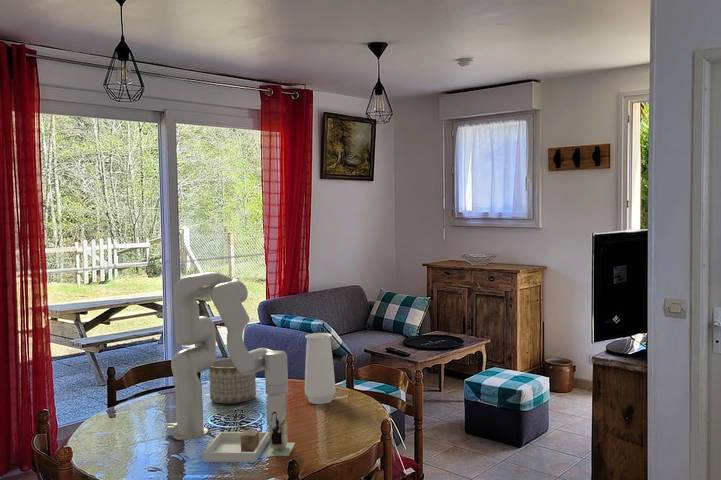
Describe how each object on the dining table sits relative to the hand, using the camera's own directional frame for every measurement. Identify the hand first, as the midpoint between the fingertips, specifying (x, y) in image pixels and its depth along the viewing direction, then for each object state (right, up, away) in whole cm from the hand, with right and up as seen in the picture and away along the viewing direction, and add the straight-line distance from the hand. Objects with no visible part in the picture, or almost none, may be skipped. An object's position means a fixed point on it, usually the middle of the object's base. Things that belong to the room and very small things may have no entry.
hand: (278, 440), depth 221 cm
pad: (0, -4, 0) cm, 4 cm away
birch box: (0, -2, 0) cm, 2 cm away
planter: (-27, -1, +61) cm, 66 cm away
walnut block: (-9, -3, -1) cm, 10 cm away
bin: (-14, -4, 0) cm, 15 cm away
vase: (+11, -1, +56) cm, 57 cm away
